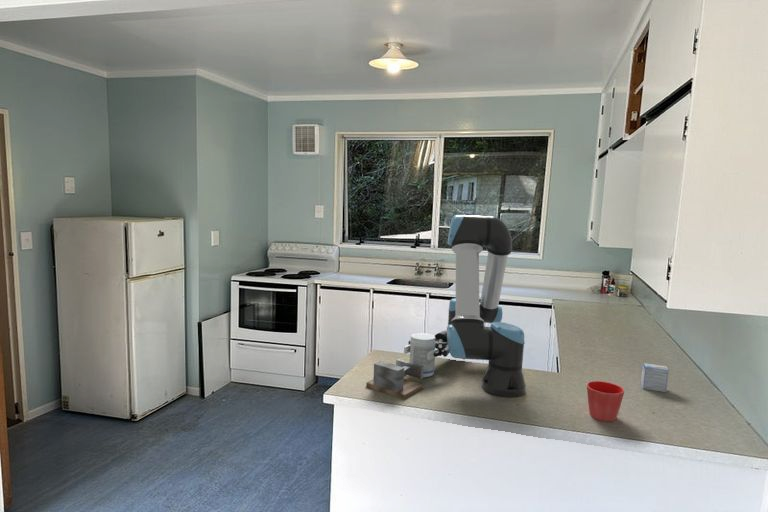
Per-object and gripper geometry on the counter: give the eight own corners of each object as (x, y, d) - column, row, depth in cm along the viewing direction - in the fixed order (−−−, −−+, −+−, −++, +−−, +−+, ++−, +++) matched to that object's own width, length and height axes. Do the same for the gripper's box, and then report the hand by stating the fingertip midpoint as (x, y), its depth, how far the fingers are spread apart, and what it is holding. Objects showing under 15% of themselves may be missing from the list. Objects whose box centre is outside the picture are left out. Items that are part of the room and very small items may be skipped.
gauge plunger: (423, 377, 173) (423, 365, 173) (414, 382, 168) (414, 370, 168) (396, 370, 180) (397, 358, 179) (387, 374, 175) (388, 362, 174)
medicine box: (663, 388, 179) (666, 366, 178) (666, 392, 174) (669, 369, 173) (640, 384, 181) (642, 362, 180) (642, 389, 177) (644, 366, 176)
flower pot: (577, 408, 157) (580, 380, 156) (609, 408, 158) (612, 380, 157) (594, 424, 147) (597, 393, 146) (628, 424, 148) (631, 393, 147)
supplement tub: (439, 375, 182) (441, 337, 180) (419, 380, 177) (421, 341, 175) (423, 367, 190) (425, 331, 188) (403, 371, 185) (405, 334, 183)
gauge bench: (422, 388, 168) (423, 364, 167) (404, 399, 159) (405, 373, 158) (385, 377, 178) (386, 353, 177) (366, 386, 168) (367, 361, 167)
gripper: (469, 355, 191) (442, 370, 173) (421, 343, 203) (391, 356, 185) (470, 336, 190) (443, 350, 172) (422, 326, 203) (392, 337, 184)
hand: (416, 353), depth 179 cm, fingers closed on supplement tub, 9 cm apart
